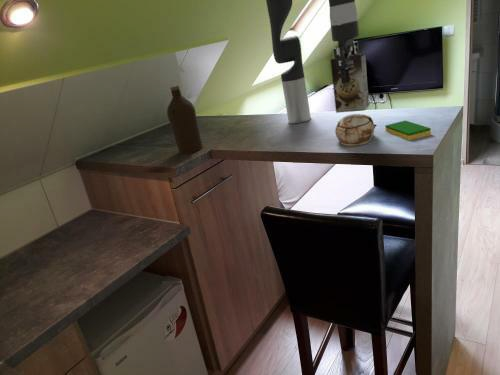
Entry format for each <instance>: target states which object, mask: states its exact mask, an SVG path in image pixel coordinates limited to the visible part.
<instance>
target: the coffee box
mask: <svg viewBox="0 0 500 375" xmlns="http://www.w3.org/2000/svg"><path fill="white" fill-rule="evenodd" d="M347 57H348V56H347ZM347 57H345V59H346V58H347ZM345 64H346V62H345ZM348 64H349V65H348V70H349V80H350V82H349V83H346V84H342V82H341V73H340V71H339V70H337V69H336V63H335V56H333V57H332V58H330V68H331V76H332V77H331V78H332V86H333V94H334V95H333V96H334V105H335V113H336V114H337V113H338V114H339V113H347V112H348V113H350V112H362V111H366V110H367V109H368V108H369V106H370V102H369V100H370V99H369V88H368V87H369V86H368V76H367V73H368V72H367V59H366V52H359V53H358V54H353V55H351V56H350V61H349V63H348Z"/></svg>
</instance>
